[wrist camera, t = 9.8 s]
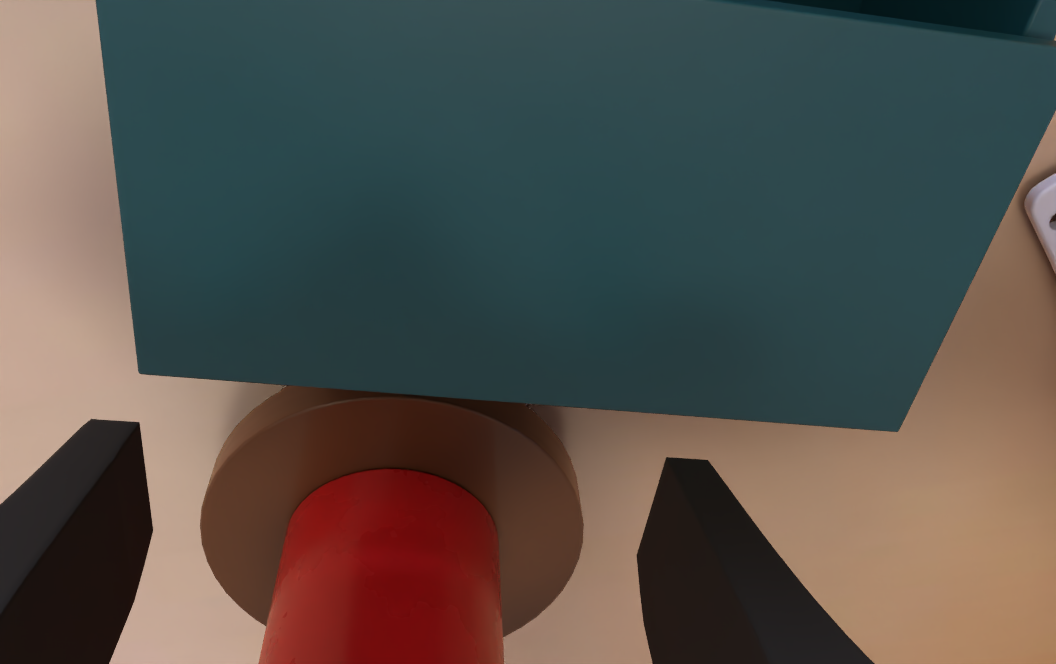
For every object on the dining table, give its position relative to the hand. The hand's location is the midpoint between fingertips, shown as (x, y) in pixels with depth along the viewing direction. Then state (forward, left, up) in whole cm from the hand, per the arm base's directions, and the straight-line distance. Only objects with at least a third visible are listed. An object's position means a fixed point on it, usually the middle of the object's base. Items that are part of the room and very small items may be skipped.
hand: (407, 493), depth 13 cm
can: (-5, +5, -6) cm, 10 cm away
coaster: (-5, +5, -9) cm, 12 cm away
